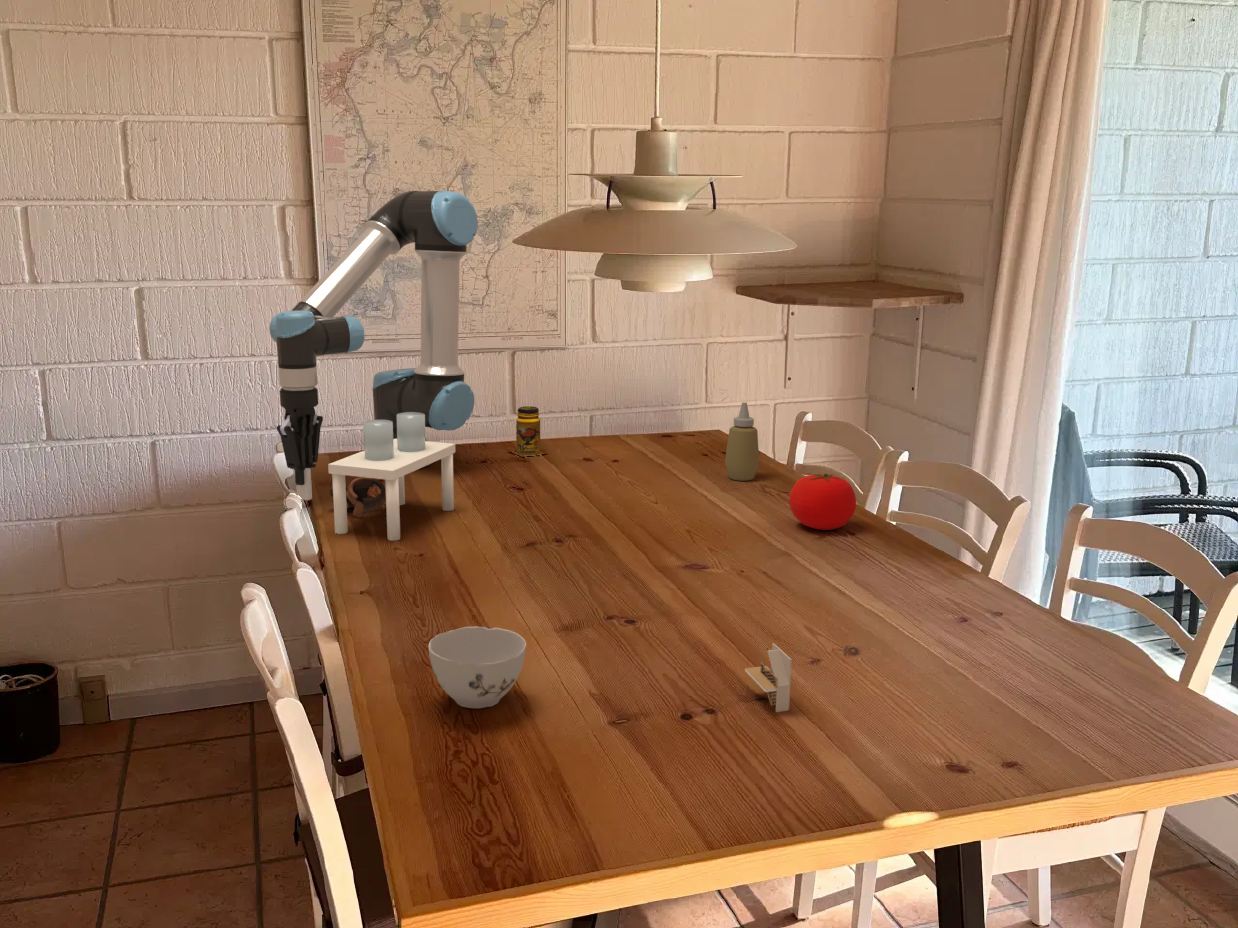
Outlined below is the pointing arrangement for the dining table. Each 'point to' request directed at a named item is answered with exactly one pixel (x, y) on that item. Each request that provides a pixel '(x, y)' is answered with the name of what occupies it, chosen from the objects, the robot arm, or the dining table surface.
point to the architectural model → (774, 678)
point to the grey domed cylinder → (411, 431)
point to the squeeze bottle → (742, 447)
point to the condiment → (528, 431)
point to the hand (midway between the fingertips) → (304, 498)
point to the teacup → (477, 664)
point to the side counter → (391, 480)
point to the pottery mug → (363, 495)
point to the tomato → (822, 501)
